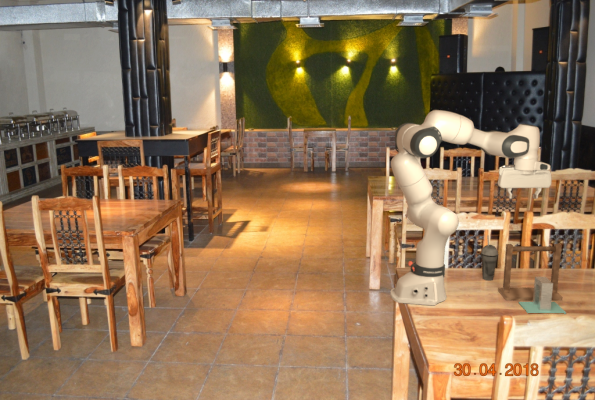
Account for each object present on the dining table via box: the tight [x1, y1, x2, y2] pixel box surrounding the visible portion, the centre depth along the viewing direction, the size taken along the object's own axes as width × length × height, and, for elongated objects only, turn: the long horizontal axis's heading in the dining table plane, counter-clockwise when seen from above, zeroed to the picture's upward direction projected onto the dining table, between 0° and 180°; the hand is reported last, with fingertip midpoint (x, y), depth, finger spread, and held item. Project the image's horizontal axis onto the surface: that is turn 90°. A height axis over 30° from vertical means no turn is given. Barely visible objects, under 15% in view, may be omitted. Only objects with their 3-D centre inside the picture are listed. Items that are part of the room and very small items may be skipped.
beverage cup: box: [480, 234, 499, 281], centre depth 235 cm, size 7×7×20 cm
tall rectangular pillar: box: [532, 276, 553, 311], centre depth 205 cm, size 4×7×11 cm, turn 177°
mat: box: [518, 301, 567, 315], centre depth 206 cm, size 14×10×1 cm
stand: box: [497, 243, 563, 302], centre depth 216 cm, size 22×10×22 cm, turn 88°
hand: (523, 198), depth 217 cm, fingers open, 8 cm apart
